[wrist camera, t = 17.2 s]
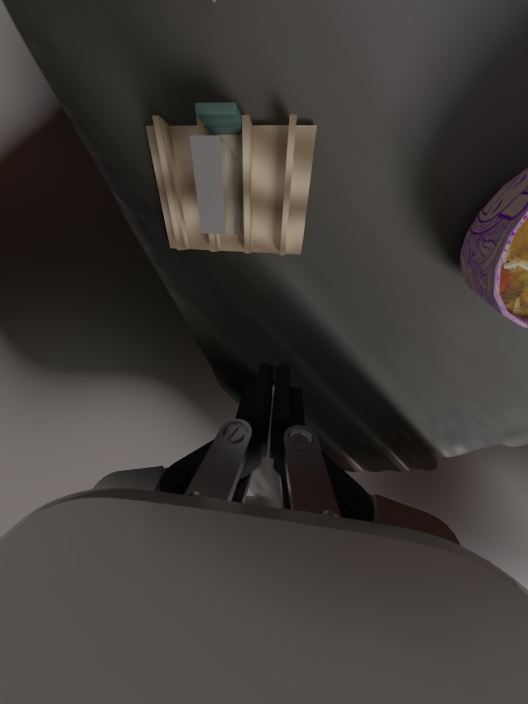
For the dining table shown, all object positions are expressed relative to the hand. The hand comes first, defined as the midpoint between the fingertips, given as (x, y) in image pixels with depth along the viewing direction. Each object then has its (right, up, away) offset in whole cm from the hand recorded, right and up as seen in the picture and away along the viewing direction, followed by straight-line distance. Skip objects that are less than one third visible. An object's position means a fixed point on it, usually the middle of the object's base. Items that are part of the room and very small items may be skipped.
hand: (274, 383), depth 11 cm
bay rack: (-5, +25, +17) cm, 31 cm away
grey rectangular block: (-5, +24, +17) cm, 30 cm away
